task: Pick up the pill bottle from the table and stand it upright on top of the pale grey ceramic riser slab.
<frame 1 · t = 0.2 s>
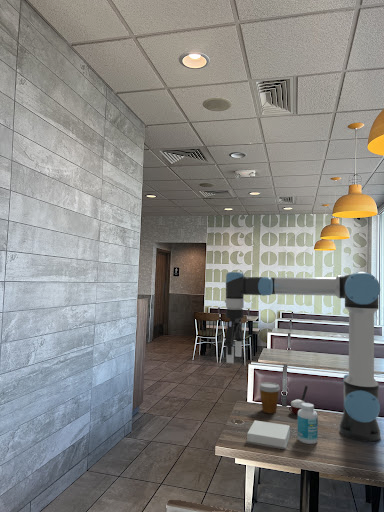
hand: (234, 359, 158), 28 cm above the table, fingers open, 13 cm apart
riser: (269, 438, 146), on the table
cocoa: (298, 414, 173), on the table
pill bottle: (307, 441, 144), on the table
disposable coffee cup: (269, 411, 176), on the table
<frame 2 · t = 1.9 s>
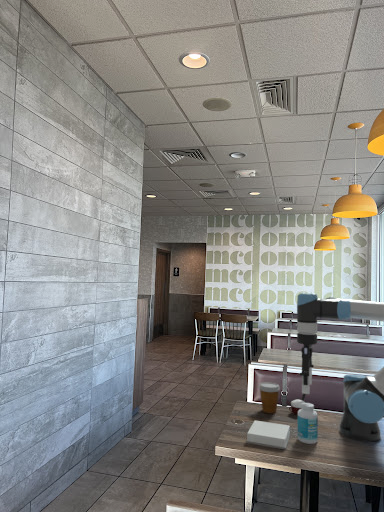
hand: (307, 388, 146), 20 cm above the table, fingers open, 13 cm apart
nothing on the table moved.
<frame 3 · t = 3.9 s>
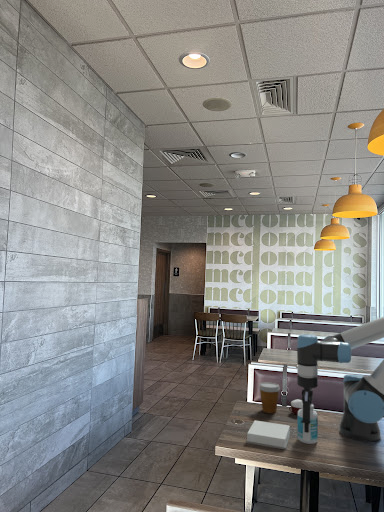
hand: (307, 436, 144), 2 cm above the table, fingers closed on pill bottle, 7 cm apart
pill bottle: (307, 441, 144), on the table, touching gripper
everything else where it was.
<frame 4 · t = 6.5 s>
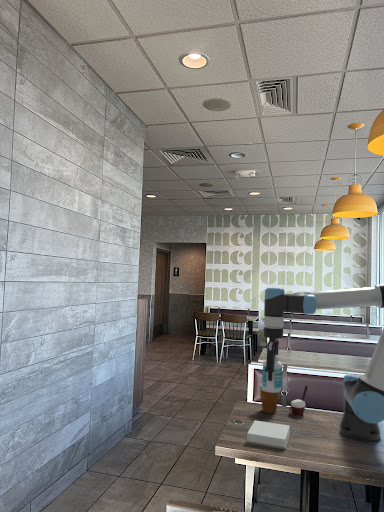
hand: (271, 386, 147), 20 cm above the table, fingers closed on pill bottle, 7 cm apart
pill bottle: (271, 391, 147), point 18 cm above the table, touching gripper
everything else where it was.
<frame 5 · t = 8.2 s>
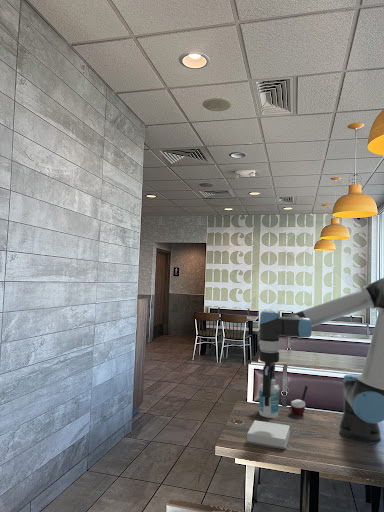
hand: (268, 410, 146), 11 cm above the table, fingers closed on pill bottle, 7 cm apart
pill bottle: (268, 415, 146), point 9 cm above the table, touching gripper
everything else where it was.
when the fingers open (7 cm above the table, at t = 9.4 s): pill bottle drops 1 cm, resting on riser.
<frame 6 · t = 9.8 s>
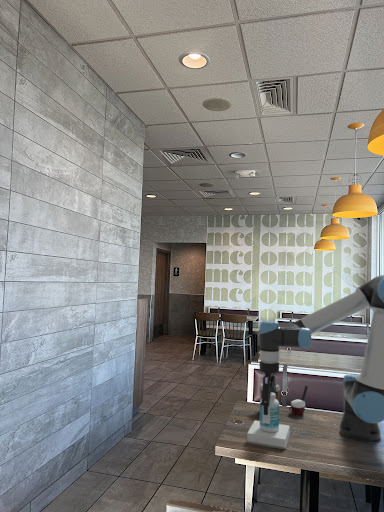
hand: (269, 417, 146), 8 cm above the table, fingers open, 13 cm apart
pill bottle: (269, 429, 146), point 3 cm above the table, touching riser
everything else where it was.
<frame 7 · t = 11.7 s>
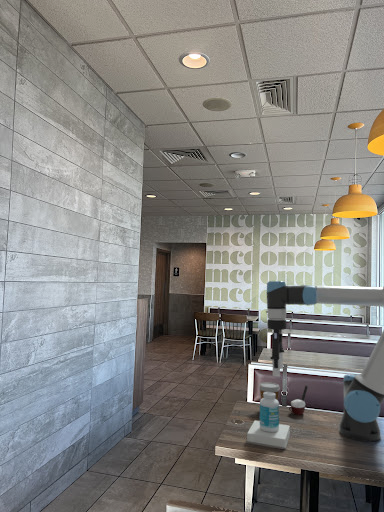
hand: (278, 372, 151), 24 cm above the table, fingers open, 13 cm apart
nothing on the table moved.
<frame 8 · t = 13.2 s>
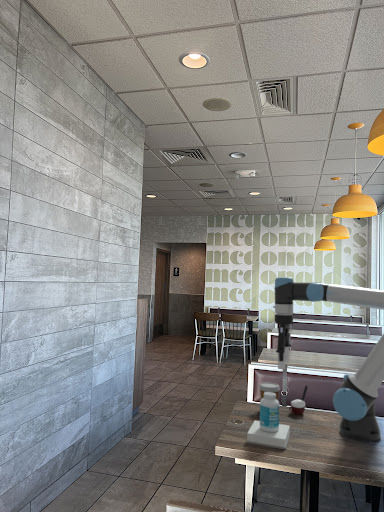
hand: (283, 365, 157), 26 cm above the table, fingers open, 13 cm apart
nothing on the table moved.
at the end: pill bottle inside the target area on the riser (0.2 cm from its centre), point 3.3 cm above the riser's base; pill bottle tilted 0°; the gripper is holding nothing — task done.
